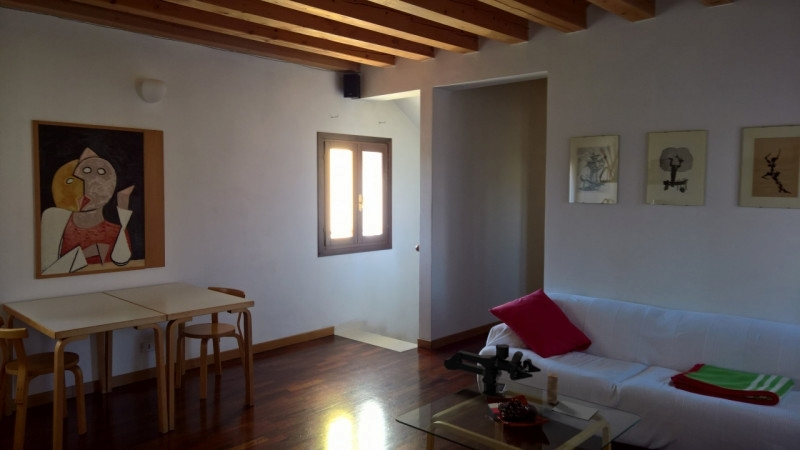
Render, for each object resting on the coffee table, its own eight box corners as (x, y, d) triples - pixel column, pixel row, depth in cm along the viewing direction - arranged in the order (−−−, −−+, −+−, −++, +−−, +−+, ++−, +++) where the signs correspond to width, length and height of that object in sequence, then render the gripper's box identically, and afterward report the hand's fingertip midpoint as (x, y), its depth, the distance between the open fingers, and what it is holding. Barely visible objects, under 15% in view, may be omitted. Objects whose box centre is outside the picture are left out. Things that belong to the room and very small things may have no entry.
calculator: (486, 403, 288) (516, 400, 290) (487, 411, 289) (516, 408, 290) (493, 412, 277) (524, 409, 279) (493, 421, 278) (524, 418, 280)
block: (546, 402, 296) (547, 375, 295) (547, 399, 301) (548, 372, 299) (556, 404, 295) (557, 377, 293) (557, 400, 299) (558, 374, 297)
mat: (551, 410, 288) (551, 409, 287) (562, 401, 298) (562, 400, 298) (587, 420, 277) (587, 419, 277) (598, 410, 288) (598, 409, 288)
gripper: (499, 355, 293) (528, 362, 283) (516, 346, 307) (545, 352, 298) (499, 377, 294) (528, 384, 285) (516, 366, 309) (544, 373, 299)
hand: (536, 373), depth 292 cm, fingers open, 9 cm apart
